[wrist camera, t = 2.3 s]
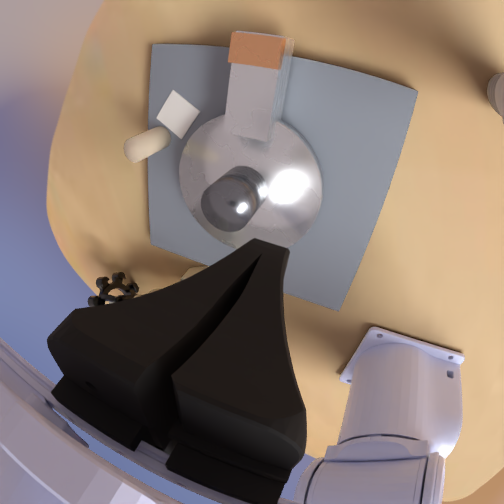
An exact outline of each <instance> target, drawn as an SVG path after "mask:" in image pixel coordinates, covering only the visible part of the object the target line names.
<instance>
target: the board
mask: <svg viewBox="0 0 504 504" xmlns="http://www.w3.org/2000/svg"><path fill="white" fill-rule="evenodd" d="M229 49H230V47H221V46H209V45H191V44H152V55H151V69H150V86H149V109H148V131H146V132H143V133H141V134H138V135H136V136H134V137H131V138H129V139H127V140H126V142H125V144H124V152H125V155H126V157H127V158H128V159H129V160H130V161H132V162H139V161H141V160H143V159H145V158H147V157H148V197H149V222H150V239H151V245H154V246H156V247H159V248H162V249H164V250H167V251H170V252H172V253H175V254H178V255H180V256H183V257H186V258H188V259H191V260H194V261H197V262H199V263H202V264H205V265H207V266H211V265H213V264H214V263H216V262H217V261H219V260H221V259H222V258H224V257H226V256H227V255H229V254H230V253H232V252H233V251H235V250H236V249H235V248H232V247H230V246H228V245H226V244H224V243H222V242H220V241H219V240H217V239H216V238H214V237H213V236H212V235H210V234H209V233H208V232H207V231H206V230H205V229H204V228H203V227H202V226H201V225H200V224H199V223H198V222H197V221H196V219H195V218H194V217H193V215H192V214H191V212H190V210H189V208H188V206H187V205H186V202H185V200H184V197H183V194H182V191H181V187H180V180H179V167H180V160H181V156H182V153H183V150H184V147H185V145H186V144H187V142H188V140H189V139H190V137H191V136H192V135H193V133H194V132H195V131H196V130H197V129H198V128H199V127H201V126H202V125H203V124H205V123H206V122H208V121H210V120H212V119H214V118H216V117H218V116H221V115H223V114H225V112H226V103H227V95H228V87H229V79H230V71H231V63H229V62H228V56H229ZM417 95H418V91H417V90H414V89H411V88H409V87H406V86H403V85H400V84H397V83H394V82H391V81H388V80H385V79H382V78H379V77H376V76H372V75H369V74H366V73H362V72H359V71H355V70H351V69H348V68H344V67H340V66H336V65H332V64H328V63H323V62H319V61H314V60H309V59H305V58H300V57H294V56H292V61H291V67H290V72H289V78H288V84H287V90H286V95H285V101H284V107H283V112H282V118H281V119H282V120H284V121H285V122H287V123H289V124H290V125H291V126H293V127H294V128H295V129H296V130H298V131H299V132H300V133H301V134H302V135H303V136H304V137H305V139H306V140H307V141H308V143H309V144H310V145H311V147H312V148H313V150H314V152H315V154H316V156H317V158H318V160H319V163H320V166H321V169H322V174H323V181H324V193H323V199H322V204H321V207H320V209H319V212H318V215H317V217H316V219H315V221H314V223H313V225H312V227H311V228H310V229H309V231H308V232H307V233H306V234H305V235H304V236H303V237H302V238H301V239H300V240H299V241H297V242H296V243H295V244H293V245H291V246H289V247H287V248H288V249H289V251H290V255H289V259H288V263H287V268H286V272H285V276H284V283H283V293H286V294H289V295H292V296H295V297H298V298H300V299H303V300H306V301H309V302H312V303H315V304H318V305H321V306H324V307H327V308H330V309H333V310H336V311H339V310H340V308H341V306H342V303H343V301H344V299H345V297H346V295H347V292H348V290H349V288H350V286H351V283H352V281H353V279H354V276H355V274H356V272H357V269H358V267H359V265H360V262H361V260H362V257H363V255H364V252H365V250H366V248H367V245H368V243H369V240H370V238H371V235H372V232H373V230H374V227H375V225H376V222H377V219H378V217H379V214H380V211H381V209H382V206H383V203H384V201H385V198H386V195H387V192H388V189H389V186H390V184H391V181H392V178H393V175H394V172H395V169H396V166H397V163H398V160H399V156H400V153H401V150H402V147H403V144H404V140H405V137H406V134H407V131H408V127H409V124H410V120H411V117H412V113H413V109H414V106H415V102H416V98H417Z"/></svg>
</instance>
